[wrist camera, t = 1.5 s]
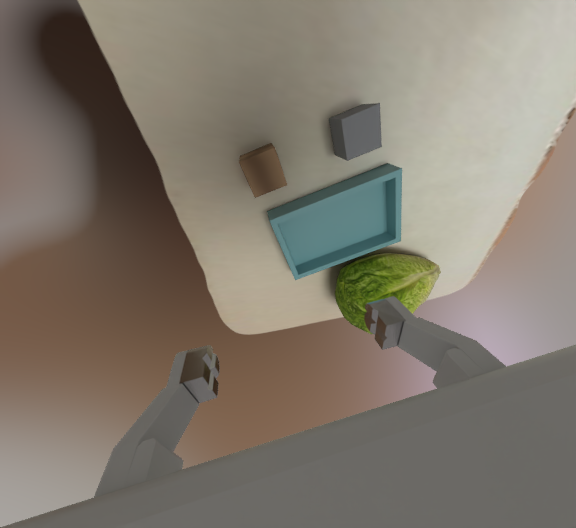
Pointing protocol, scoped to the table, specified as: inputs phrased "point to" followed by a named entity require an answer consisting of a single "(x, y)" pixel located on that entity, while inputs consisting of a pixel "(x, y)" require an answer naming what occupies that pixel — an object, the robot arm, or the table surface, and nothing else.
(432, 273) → the lettuce
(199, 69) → the table surface
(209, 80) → the table surface
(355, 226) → the teal tray
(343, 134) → the charcoal block
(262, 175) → the walnut block
